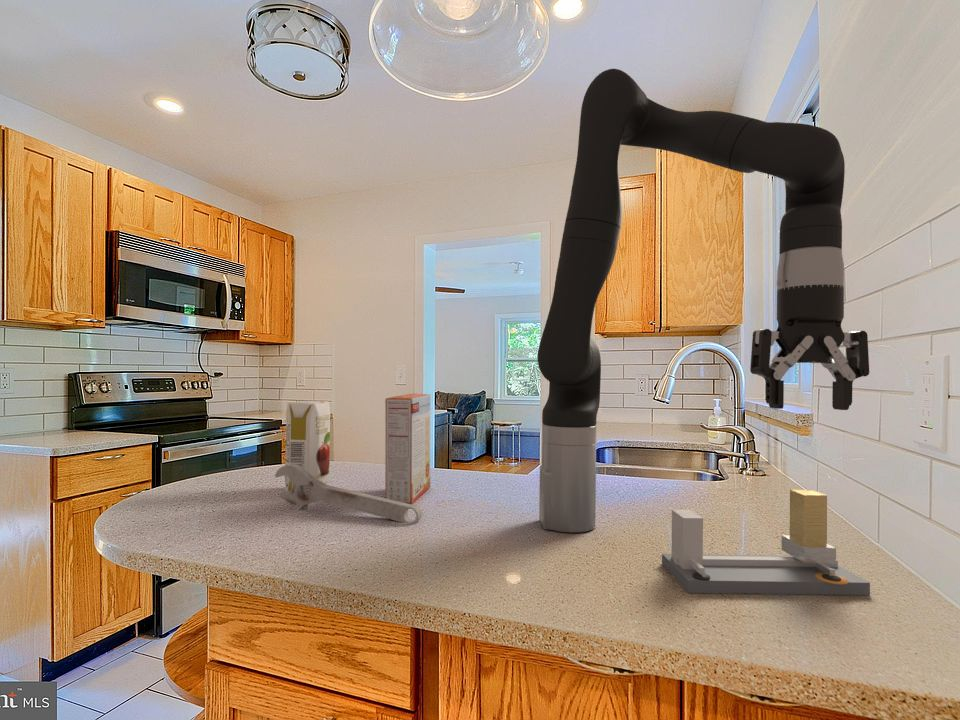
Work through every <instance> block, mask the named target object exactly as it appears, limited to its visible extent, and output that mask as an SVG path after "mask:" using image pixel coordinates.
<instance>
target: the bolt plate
mask: <svg viewBox="0 0 960 720" xmlns="http://www.w3.org/2000/svg"><path fill="white" fill-rule="evenodd" d="M703 543H704V517H702V516H700V515H699V514H697V513H696V512H695V511H693V510H692V509H671V553H661V565H662V566H663V568H664V569H665V570H666V571H667V572H668V573H669V574H670V575H671V576H672V577H673V579H674V580H676V581H677V582H678V584H679V585H680V586H681V587H682V588H683V589H684V590H685V592H687V593H688V594H737V593H739V594H740V593H741V594H742V593H743V595H744V593H745V595H748V594H749V595H751V594H752V595H754V594H755V593H756V594H757V593H758V594H757V595H759V594H760V595H762V594H763V595H818V596H819V595H821V596H822V595H827V596H828V595H829V596H830V595H831V596H832V595H833V596H834V595H835V596H837V595H838V596H870V595H871V583H870V582H869V580H868V581H867V580H866V579H864V578H863V577H861V576H859V575H857V574H854V573H853V572H852V571H849V570H848V569H846V568H844V567H842V566H840V565H839V561H838V560H837V559H836V564H825V565H827V566H829V567H830V568H832V569H834V570H835V576H830V575H828V574H826V573H825V572H823V571H821V570H820V569H818V568H816V567H815V564H804V563H803V562H801V561H799V560H798V559H796V558H794V557H793V556H791V555H789V554H788V555H786V554H784V555H783V554H781V555H780V554H777V555H776V554H720V553H718V554H715V553H714V554H713V553H712V554H707V553H704V549H703V548H704V544H703ZM746 593H747V594H746Z"/></svg>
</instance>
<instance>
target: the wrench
mask: <svg viewBox="0 0 960 720" xmlns="http://www.w3.org/2000/svg"><path fill="white" fill-rule="evenodd" d="M285 475H287V476H288V477H289V478H290V480H291V481H292V482H293V489H292V490H291V491H286V490H285V491H283V492H282V493H279V497H280V498H281V499H282V500H284V501H285V502H286V503H288V504H290V505H293V506H296V507H297V511H301V510H303V511H306V510H308V509H309V506H308V505H309V504H311V503H316V502H321V503H322V502H323V503H327V504H332V505H335V506H339V507H342V508H347V509H351V510H354V511H358V512H363V513H366V514H370V515H373V516H377V517H381V518H384V519H388V520H392V521H395V522H399V523H404V524H411V523H412V524H414V525H415V524H416V523H418V522H420V520H421V519H422V515H423V514H422V513H423V512H422V510H421V508H420V507H419V506H417V505H415V504H407V503H403V502H399V501H394V500H390V499H386V498H385V497H382V496H376V495H372V494H368V493H363V492H359V491H355V490H350V489H347V488H342V487H338V486H334V485H333V486H332V485H329V484H328V485H326V484H324V483H323V482H321V481H320V480H318V479H317V478H315V477H313V476H312V475H311V474H310V473H309V472H307V471H306V470H305V469H304V468H303V467H302V466H300V465H298V464H289V465H286V466H285V465H283V466H281V467H280V468H278V469H277V470H276V472H275V474H274V476H275V478H276V479H277V478H279V477H283V476H284V477H285ZM409 509H411V510H413V511H414V513H415V516H416V517H415V519H411V518H410V517H409V515H408V514H409V513H408V511H409Z"/></svg>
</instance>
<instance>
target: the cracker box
mask: <svg viewBox="0 0 960 720" xmlns="http://www.w3.org/2000/svg"><path fill="white" fill-rule="evenodd" d="M384 401H385V402H384V405H385V406H384V407H385V408H384V409H385V414H384V415H385V417H384V418H385V425H384V426H385V436H384V437H385V438H384V439H385V445H384V447H385V449H384V451H385V455H384V456H385V457H384V459H385V461H384V462H385V463H384V464H385V469H384V470H385V473H384V474H385V476H384V478H385V479H384V480H385V481H384V483H385V484H384V485H385V493H384V495H385V496H384V498H386V499H390V500H394V501H399V502H403V503H407V504H412V505H414V503H415V502H416V501H417V500H418V499H419V498H420V497H421V496H423V495H424V494H425V493H426V492H427V491H428V490H429V489H430V488H431V394H428V393H427V394H426V393H425V394H424V393H423V394H422V393H407V394H401V395H396V396H390V397H387V398H385V400H384Z"/></svg>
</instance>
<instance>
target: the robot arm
mask: <svg viewBox="0 0 960 720" xmlns="http://www.w3.org/2000/svg"><path fill="white" fill-rule="evenodd" d="M579 118H580V119H579V130H578V131H579V132H578V142H577V144H578V145H577V154H576V160H575V161H576V162H575V163H576V164H575V169H574V172H573V173H574V174H573V180H572V185H571V191H570V198H569V203H568V206H567V207H568V208H567V212H566V217H565V223H564V226H563V231H562V238H561V244H560V250H559V256H558V261H557V262H558V263H557V268H556V274H555V281H554V287H553V294H552V300H551V304H550V308H549V311H548V315H547V318H546V321H545V325H544V328H543V332H542V334H541V338H540V342H539V345H538V350H537V365H538V369H539V370H540V373H541V375H542V377H544V379H545V380H546V381H548V382H549V384H548V385H549V387H548V388H549V389H548V396H547V400H546V403H545V404H544V406H543V408H542V414H541V419H542V420H541V465H539V497H538V498H539V501H538V504H539V506H538V507H539V508H538V510H539V511H538V519H539V521H540V524H541V526H542V529H543V530H550V531H551V530H552V531H556V532H563V533H585V532H589V531H592V530H594V529H595V528H596V517H597V513H596V507H597V506H596V502H597V500H596V499H597V497H596V496H597V493H596V492H597V480H596V479H597V420H598V419H597V416H598V412H599V407H600V403H601V401H600V400H601V383H602V382H601V378H602V377H601V375H602V373H601V372H602V360H601V352H600V350H599V347H598V345H597V343H596V341H595V340H593V339H592V338H591V335H592V334H591V332H592V324H593V318H594V313H595V312H594V311H595V308H596V304H597V300H598V297H599V295H600V293H601V291H602V288H603V287H604V284H605V282H606V280H607V279H608V276H609V273H610V272H611V269H612V267H613V263H614V261H615V258H616V254H617V249H618V244H619V239H620V234H621V229H622V221H623V206H622V205H623V202H622V194H621V193H622V191H621V184H620V174H619V160H620V149H621V146H629V147H638V148H650V149H655V150H659V151H660V150H661V151H667V152H671V153H675V154H678V155H682V156H686V157H689V158H692V159H696V160H699V161H701V162H702V161H703V162H705V163H708V164H711V165H715V166H718V167H721V168H724V169H728V170H731V171H735V172H739V173H742V174H744V173H745V174H751V173H754V172H757V173H758V172H759V173H762V174H766V175H770V176H773V177H776V178H779V179H781V180H783V182H784V187H785V188H784V189H785V203H784V204H785V209H784V210H785V212H784V214H783V216H782V217H781V219H780V220H781V221H780V227H779V253H778V255H779V257H778V263H777V264H778V265H777V270H776V321H777V324H778V325H777V328H776V330H771V329H770V328H764V329H757V330H754V331H753V332H752V338H751V339H752V340H751V352H750V353H751V355H750V367H749V368H750V373H751V374H753V375H757V376H759V377H762V378H763V379H764V381H765V382H764V383H765V384H764V386H765V389H764V390H765V395H764V396H765V398H764V400H765V402H766V404H768V406H769V408H771V409H776V410H777V409H778V410H782V409H783V408H784V400H785V399H784V393H785V392H784V391H785V390H784V389H785V388H784V387H785V381H784V380H781V379H783V378H784V376H785V375H786V373H787V372H788V370H790V369H791V368H793V367H794V366H795V365H796V363H797V364H798V363H799V364H800V363H802V364H805V363H808V364H820V365H821V366H823V368H825V369H826V370H828V371H829V373H830V374H831V376H832V377H833V379H834V380H835V381H832V400H831V401H832V405H831V406H832V409H833V410H839V411H848V410H849V408H850V406H852V404H853V382H854V381H855V380H856V379H859V378H862V377H868V376H869V374H870V360H869V359H870V358H869V357H870V355H869V339H868V333H867V332H866V331H865V330H854V331H848V332H844V331H843V329H842V323H843V319H844V317H845V263H844V262H845V261H844V258H843V246H842V245H843V218H842V212H841V211H842V210H841V209H842V205H843V195H844V188H845V187H844V186H845V184H844V183H845V172H846V171H845V166H846V164H845V163H846V162H845V158H844V154H843V150H842V147H841V144H840V141H839V139H838V137H837V136H836V135H834V134H833V133H832V132H831V131H829V130H827V129H824V128H822V127H820V126H815V125H813V124H806V123H799V122H782V121H781V122H780V121H778V122H777V121H773V122H770V121H769V122H767V121H765V120H761V119H757V118H754V117H751V116H750V117H749V116H747V115H746V116H744V115H742V114H737V113H732V112H726V111H721V110H720V111H719V110H700V111H684V110H683V111H682V110H675V109H673V108H669V107H666V106H664V105H662V104H660V103H658V102H656V101H653V100H652V99H650V98H649V97H647V95H646V93H645V92H644V91H643V89H641V87H640V86H639V85H638V83H637V82H636V81H635V80H634V79H633V78H632V77H631V76H630V75H629V74H628V73H626V72H625V71H623V70H621V69H618V68H609V69H606V70H603V71H602V72H600V73H599V74H598V75H596V76H595V77H594V78H593V80H592V81H591V82H590V83H589V86H588V87H587V89H586V91H585V94H584V96H583V99H582V103H581V107H580V117H579ZM775 342H776V343H777V345H778V346H779V350H778V351H777V353H776V354H775V355H774V357H773V358H772V359H771V350H772V349H771V347H772V346H773V345H774V344H775ZM841 345H843V346H844V348H845V355H844V353H843V352H842V351H841V350H840V346H841ZM770 362H771V363H770Z"/></svg>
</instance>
